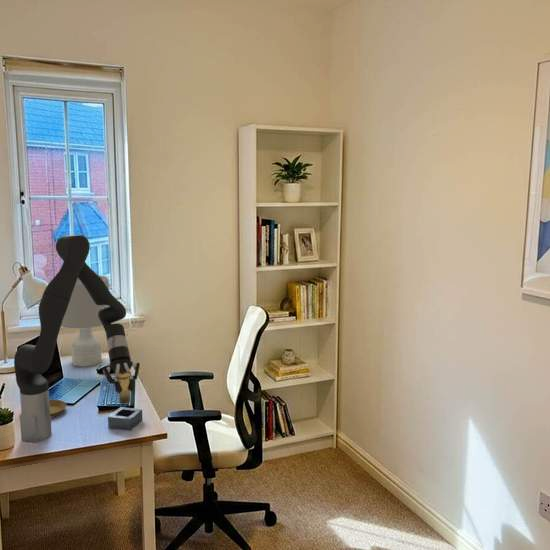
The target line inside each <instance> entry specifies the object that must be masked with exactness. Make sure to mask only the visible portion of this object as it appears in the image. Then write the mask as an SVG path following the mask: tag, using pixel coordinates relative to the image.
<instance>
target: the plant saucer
mask: <svg viewBox="0 0 550 550" xmlns="http://www.w3.org/2000/svg"><path fill="white" fill-rule="evenodd" d="M49 402H50V417H51V418H54V417H56V416H58V415H60V414H61V413H62V412H63V411H64V410H65V409H66V408H67V405H68V404H67V403H66V402H65V401H64V400H60V399H49Z"/></svg>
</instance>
